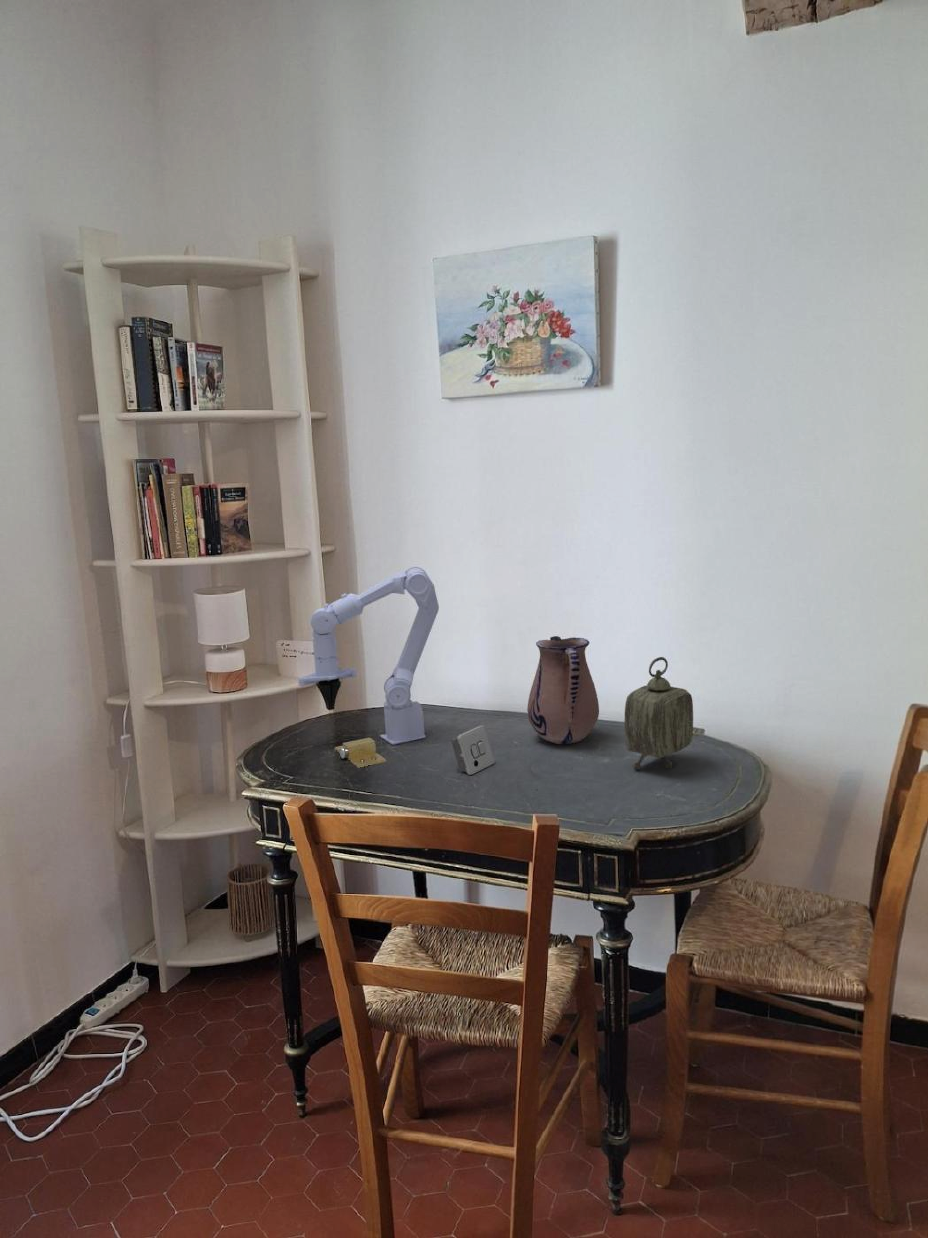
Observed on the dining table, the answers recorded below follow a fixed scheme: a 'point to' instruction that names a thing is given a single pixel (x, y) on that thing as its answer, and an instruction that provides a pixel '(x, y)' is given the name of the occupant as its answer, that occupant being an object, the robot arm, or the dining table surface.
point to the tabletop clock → (658, 718)
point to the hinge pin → (345, 752)
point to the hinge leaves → (362, 752)
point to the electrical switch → (473, 750)
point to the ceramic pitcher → (563, 692)
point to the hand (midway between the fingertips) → (330, 709)
